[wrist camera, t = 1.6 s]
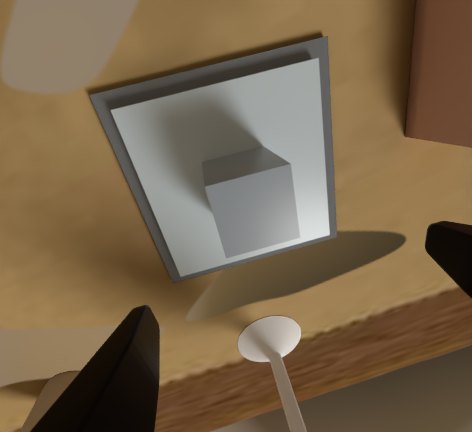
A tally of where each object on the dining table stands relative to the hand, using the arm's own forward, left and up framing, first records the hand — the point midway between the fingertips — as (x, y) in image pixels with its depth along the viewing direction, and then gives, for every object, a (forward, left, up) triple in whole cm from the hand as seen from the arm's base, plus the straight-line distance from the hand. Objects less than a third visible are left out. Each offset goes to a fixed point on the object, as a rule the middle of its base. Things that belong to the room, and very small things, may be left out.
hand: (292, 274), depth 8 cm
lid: (0, 0, -10) cm, 11 cm away
